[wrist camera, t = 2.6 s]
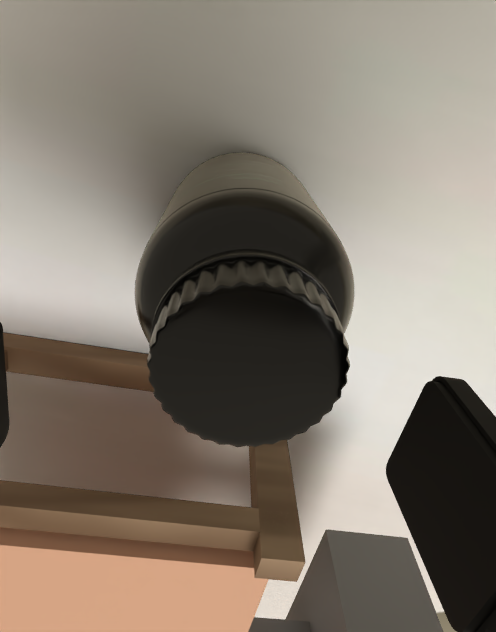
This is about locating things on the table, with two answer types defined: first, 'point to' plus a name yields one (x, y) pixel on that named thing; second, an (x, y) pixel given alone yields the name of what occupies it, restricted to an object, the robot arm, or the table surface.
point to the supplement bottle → (245, 304)
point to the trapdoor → (204, 586)
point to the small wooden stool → (143, 511)
